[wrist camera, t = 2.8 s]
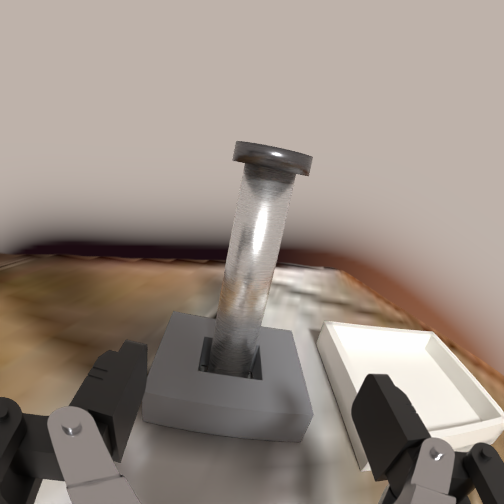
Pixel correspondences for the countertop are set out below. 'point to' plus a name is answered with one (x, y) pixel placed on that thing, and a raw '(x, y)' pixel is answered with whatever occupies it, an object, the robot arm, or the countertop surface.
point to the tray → (409, 382)
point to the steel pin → (253, 252)
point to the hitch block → (227, 386)
